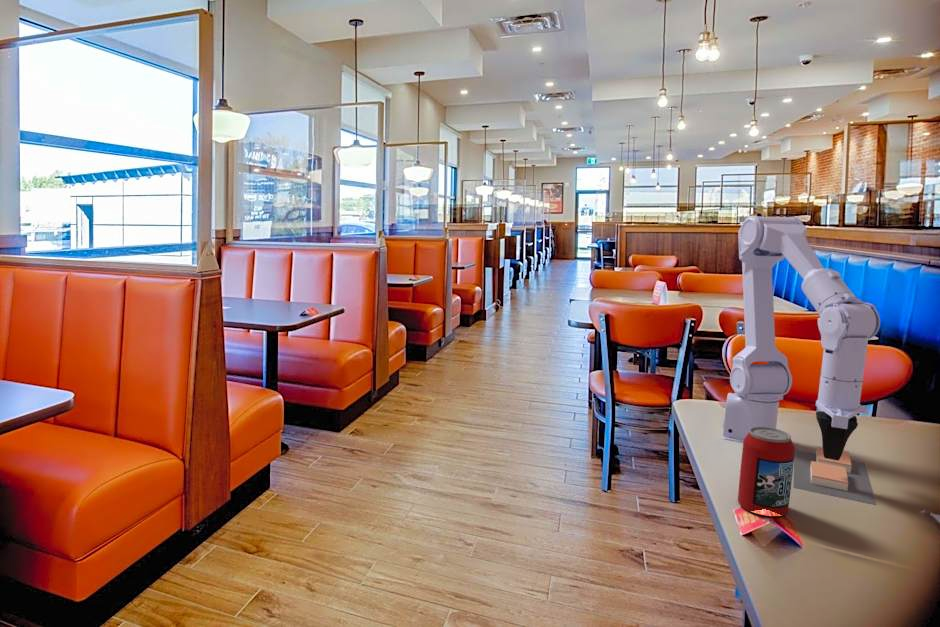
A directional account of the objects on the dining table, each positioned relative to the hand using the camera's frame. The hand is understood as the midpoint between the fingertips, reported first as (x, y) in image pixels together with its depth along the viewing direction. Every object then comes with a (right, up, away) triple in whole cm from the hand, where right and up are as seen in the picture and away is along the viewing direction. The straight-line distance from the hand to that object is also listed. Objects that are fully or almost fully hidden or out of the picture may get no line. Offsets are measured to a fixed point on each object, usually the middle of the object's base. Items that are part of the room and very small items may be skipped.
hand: (831, 458), depth 94 cm
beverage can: (-16, -6, -9) cm, 19 cm away
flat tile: (+6, -3, +9) cm, 11 cm away
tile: (-1, -4, -1) cm, 4 cm away
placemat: (+2, -4, +4) cm, 6 cm away
